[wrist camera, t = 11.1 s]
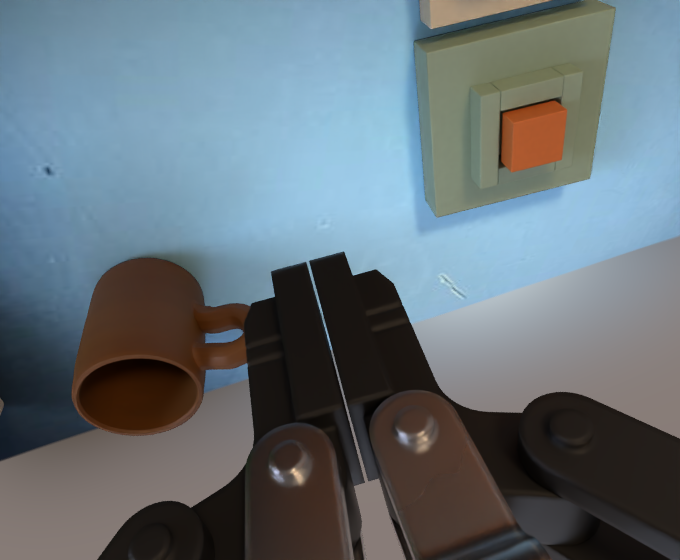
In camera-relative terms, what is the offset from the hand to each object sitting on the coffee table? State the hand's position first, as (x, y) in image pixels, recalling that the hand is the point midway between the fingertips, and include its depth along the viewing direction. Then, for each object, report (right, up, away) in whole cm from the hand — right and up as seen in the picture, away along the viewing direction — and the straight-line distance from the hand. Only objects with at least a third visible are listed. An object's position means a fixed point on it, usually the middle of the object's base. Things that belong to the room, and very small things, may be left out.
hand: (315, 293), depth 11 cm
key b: (+12, +9, +21) cm, 26 cm away
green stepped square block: (+11, +11, +24) cm, 29 cm away
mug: (-11, 0, +28) cm, 30 cm away
